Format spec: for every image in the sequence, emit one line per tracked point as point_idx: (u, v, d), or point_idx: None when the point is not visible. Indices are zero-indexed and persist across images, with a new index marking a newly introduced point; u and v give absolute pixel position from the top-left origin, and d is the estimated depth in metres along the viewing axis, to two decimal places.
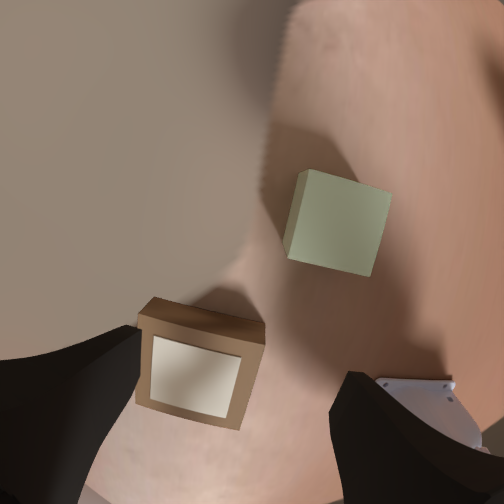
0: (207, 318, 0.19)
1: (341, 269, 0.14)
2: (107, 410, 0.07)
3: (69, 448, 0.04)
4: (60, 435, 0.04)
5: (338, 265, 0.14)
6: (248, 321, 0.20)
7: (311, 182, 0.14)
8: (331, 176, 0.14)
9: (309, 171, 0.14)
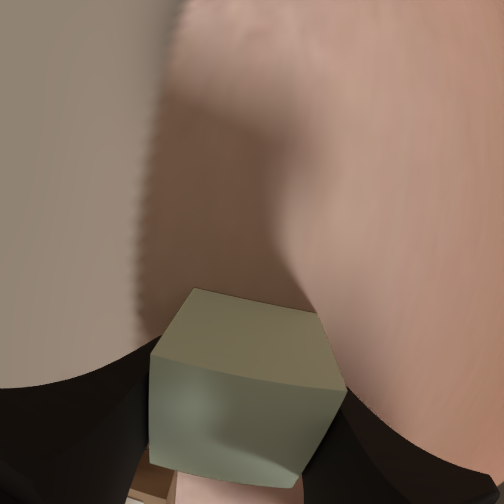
0: None
1: (239, 482, 0.07)
2: (147, 424, 0.07)
3: (117, 469, 0.04)
4: (112, 459, 0.04)
5: (233, 479, 0.07)
6: None
7: (160, 379, 0.06)
8: (199, 370, 0.06)
9: (152, 358, 0.06)
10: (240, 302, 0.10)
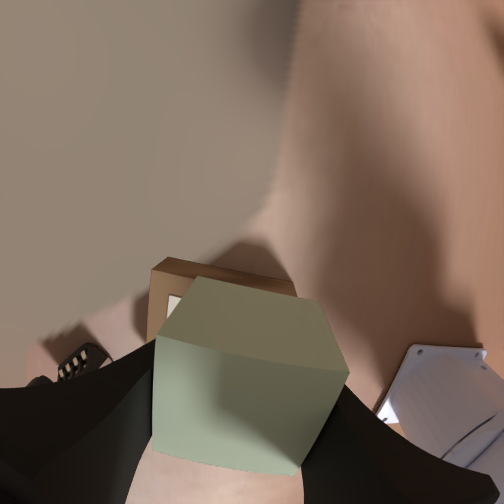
0: (229, 275, 0.17)
1: (242, 469, 0.07)
2: (147, 424, 0.07)
3: (117, 469, 0.05)
4: (112, 459, 0.04)
5: (236, 466, 0.07)
6: (274, 280, 0.18)
7: (165, 360, 0.06)
8: (204, 350, 0.06)
9: (157, 339, 0.06)
10: (243, 289, 0.10)
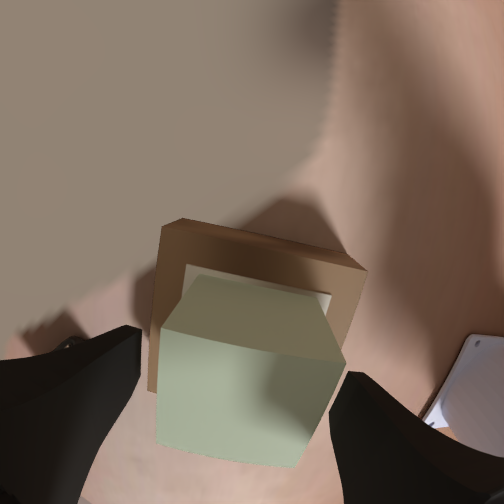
0: (270, 241, 0.12)
1: (244, 461, 0.07)
2: (107, 410, 0.07)
3: (69, 448, 0.04)
4: (60, 435, 0.04)
5: (237, 458, 0.07)
6: (326, 250, 0.13)
7: (169, 352, 0.07)
8: (207, 342, 0.07)
9: (162, 332, 0.07)
10: (243, 286, 0.10)
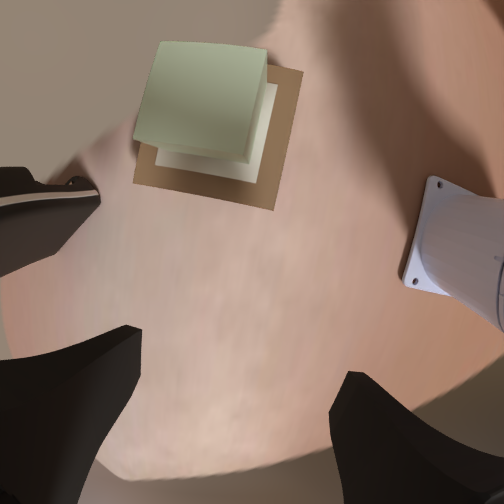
0: None
1: (199, 145, 0.10)
2: (107, 410, 0.07)
3: (69, 448, 0.04)
4: (60, 435, 0.04)
5: (194, 140, 0.10)
6: None
7: (161, 53, 0.10)
8: (184, 43, 0.09)
9: (160, 44, 0.09)
10: None
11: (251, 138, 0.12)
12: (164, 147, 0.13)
